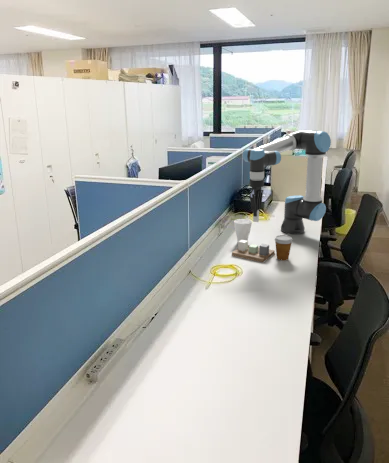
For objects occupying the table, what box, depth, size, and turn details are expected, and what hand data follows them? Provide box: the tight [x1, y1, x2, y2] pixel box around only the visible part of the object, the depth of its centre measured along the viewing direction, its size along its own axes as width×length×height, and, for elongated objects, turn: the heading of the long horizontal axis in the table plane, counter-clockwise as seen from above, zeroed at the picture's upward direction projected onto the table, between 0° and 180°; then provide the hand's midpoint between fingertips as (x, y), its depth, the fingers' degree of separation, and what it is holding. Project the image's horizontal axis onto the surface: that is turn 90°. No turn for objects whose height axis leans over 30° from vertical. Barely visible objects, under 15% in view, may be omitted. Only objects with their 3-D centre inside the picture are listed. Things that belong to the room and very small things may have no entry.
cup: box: [233, 218, 253, 244], centre depth 247 cm, size 10×10×14 cm
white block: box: [237, 240, 249, 251], centre depth 232 cm, size 4×4×5 cm
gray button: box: [258, 243, 270, 256], centre depth 225 cm, size 4×4×5 cm
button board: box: [231, 244, 276, 263], centre depth 229 cm, size 15×19×2 cm
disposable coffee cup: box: [274, 234, 293, 261], centre depth 222 cm, size 10×10×12 cm
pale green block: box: [249, 243, 259, 254], centre depth 229 cm, size 4×4×5 cm
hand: (255, 221), depth 225 cm, fingers closed
